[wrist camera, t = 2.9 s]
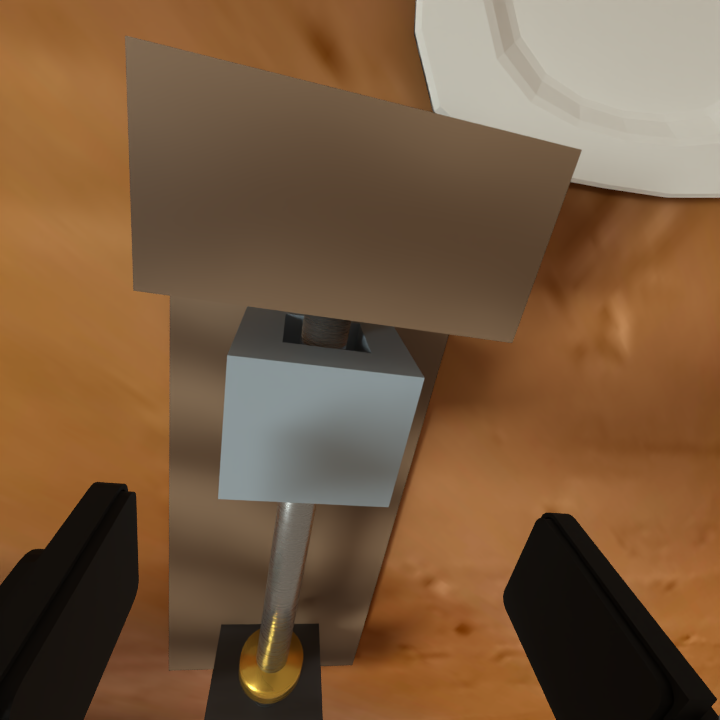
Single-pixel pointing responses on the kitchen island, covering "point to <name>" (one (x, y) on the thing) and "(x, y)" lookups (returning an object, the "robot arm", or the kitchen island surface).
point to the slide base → (308, 306)
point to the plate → (587, 83)
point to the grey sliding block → (315, 413)
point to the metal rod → (285, 572)
